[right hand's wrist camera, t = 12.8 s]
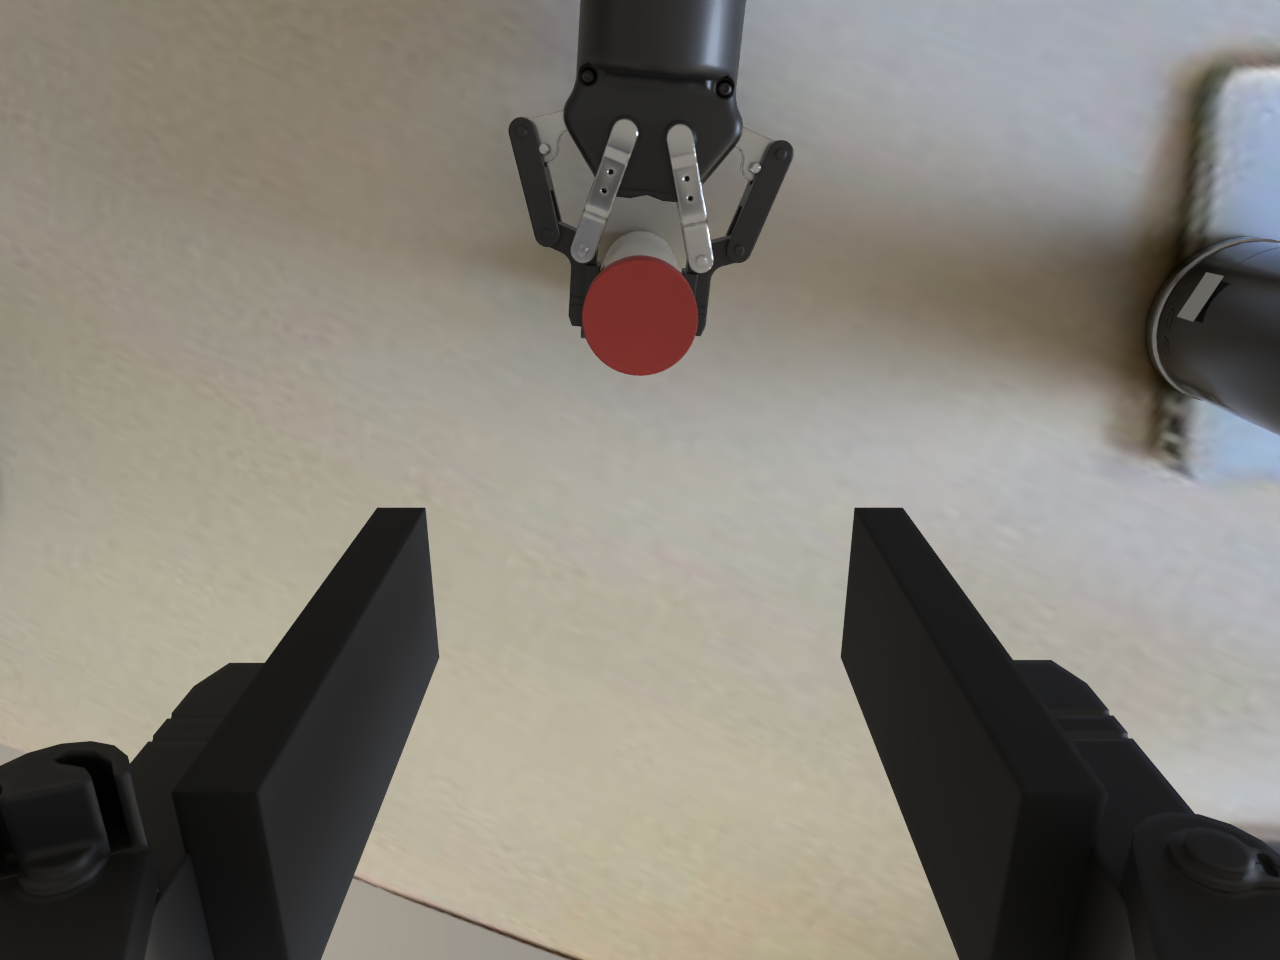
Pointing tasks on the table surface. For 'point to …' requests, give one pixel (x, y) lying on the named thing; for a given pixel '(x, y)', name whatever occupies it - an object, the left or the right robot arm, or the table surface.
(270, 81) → the table surface
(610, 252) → the jar
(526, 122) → the left robot arm
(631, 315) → the lid
